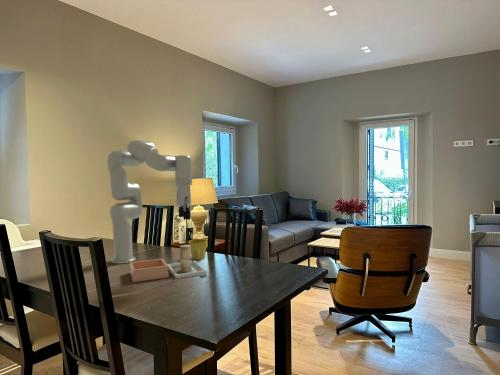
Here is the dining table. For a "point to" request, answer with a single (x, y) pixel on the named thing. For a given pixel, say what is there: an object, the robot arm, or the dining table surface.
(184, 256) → the maple peg
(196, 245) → the plant pot
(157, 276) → the peach square hollow box
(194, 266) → the grey tray
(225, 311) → the dining table surface
